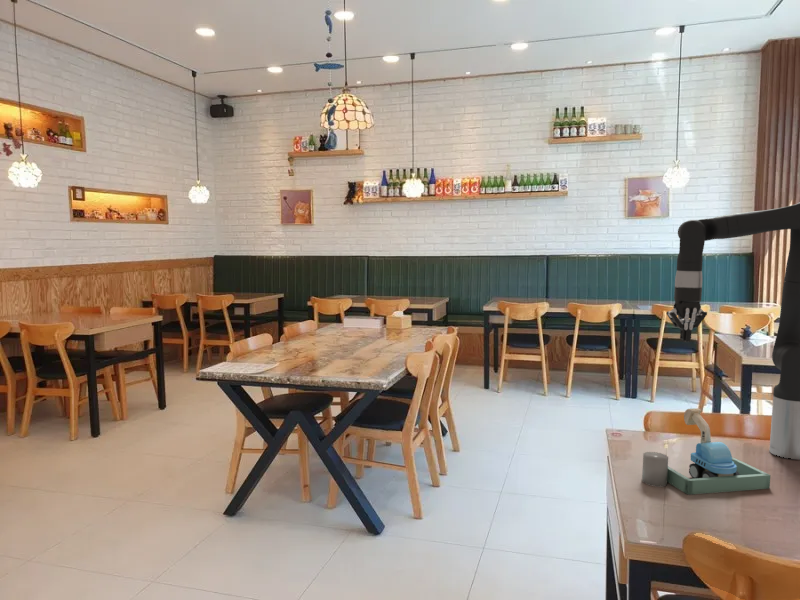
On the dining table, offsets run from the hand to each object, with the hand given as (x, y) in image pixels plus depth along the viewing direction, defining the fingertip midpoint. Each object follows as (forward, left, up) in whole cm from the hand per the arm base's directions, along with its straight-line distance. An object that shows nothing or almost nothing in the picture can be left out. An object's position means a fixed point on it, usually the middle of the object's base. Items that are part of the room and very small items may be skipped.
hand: (685, 341), depth 182 cm
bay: (+12, +29, -32) cm, 45 cm away
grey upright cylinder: (+27, +27, -32) cm, 50 cm away
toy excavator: (+11, +27, -32) cm, 43 cm away
